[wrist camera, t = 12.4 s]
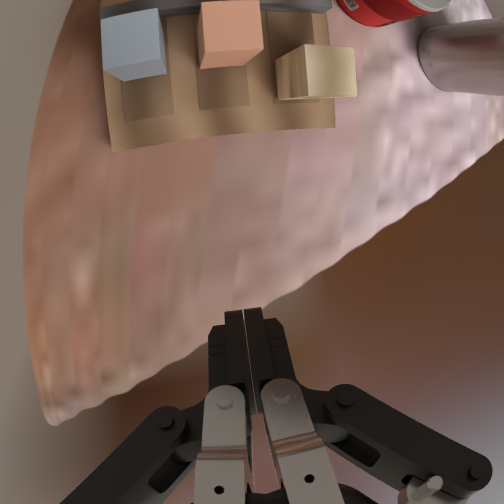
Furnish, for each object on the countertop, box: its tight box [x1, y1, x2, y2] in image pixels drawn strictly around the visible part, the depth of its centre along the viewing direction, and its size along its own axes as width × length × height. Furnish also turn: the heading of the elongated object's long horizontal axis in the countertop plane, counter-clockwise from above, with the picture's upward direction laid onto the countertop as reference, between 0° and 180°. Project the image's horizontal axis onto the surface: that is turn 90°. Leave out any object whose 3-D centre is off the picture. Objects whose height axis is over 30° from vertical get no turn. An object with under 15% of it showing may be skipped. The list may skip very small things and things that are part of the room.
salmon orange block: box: [197, 0, 264, 69], centre depth 21 cm, size 4×4×8 cm
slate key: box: [101, 8, 167, 81], centre depth 20 cm, size 4×4×8 cm
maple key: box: [275, 44, 357, 100], centre depth 24 cm, size 4×4×8 cm
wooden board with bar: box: [99, 0, 335, 153], centre depth 25 cm, size 22×16×4 cm
